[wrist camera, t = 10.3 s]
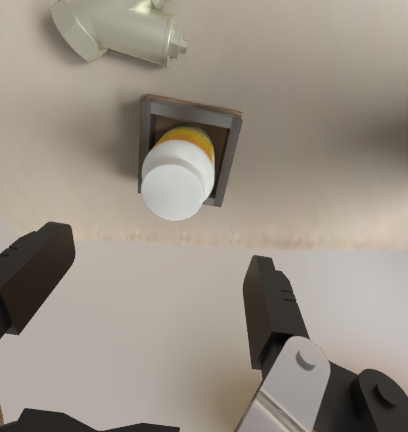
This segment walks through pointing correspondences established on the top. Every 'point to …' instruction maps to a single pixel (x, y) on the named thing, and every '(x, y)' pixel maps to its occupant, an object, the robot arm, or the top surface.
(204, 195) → the supplement bottle
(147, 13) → the pipe fitting
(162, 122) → the square holder
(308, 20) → the top surface
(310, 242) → the top surface
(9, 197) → the top surface
